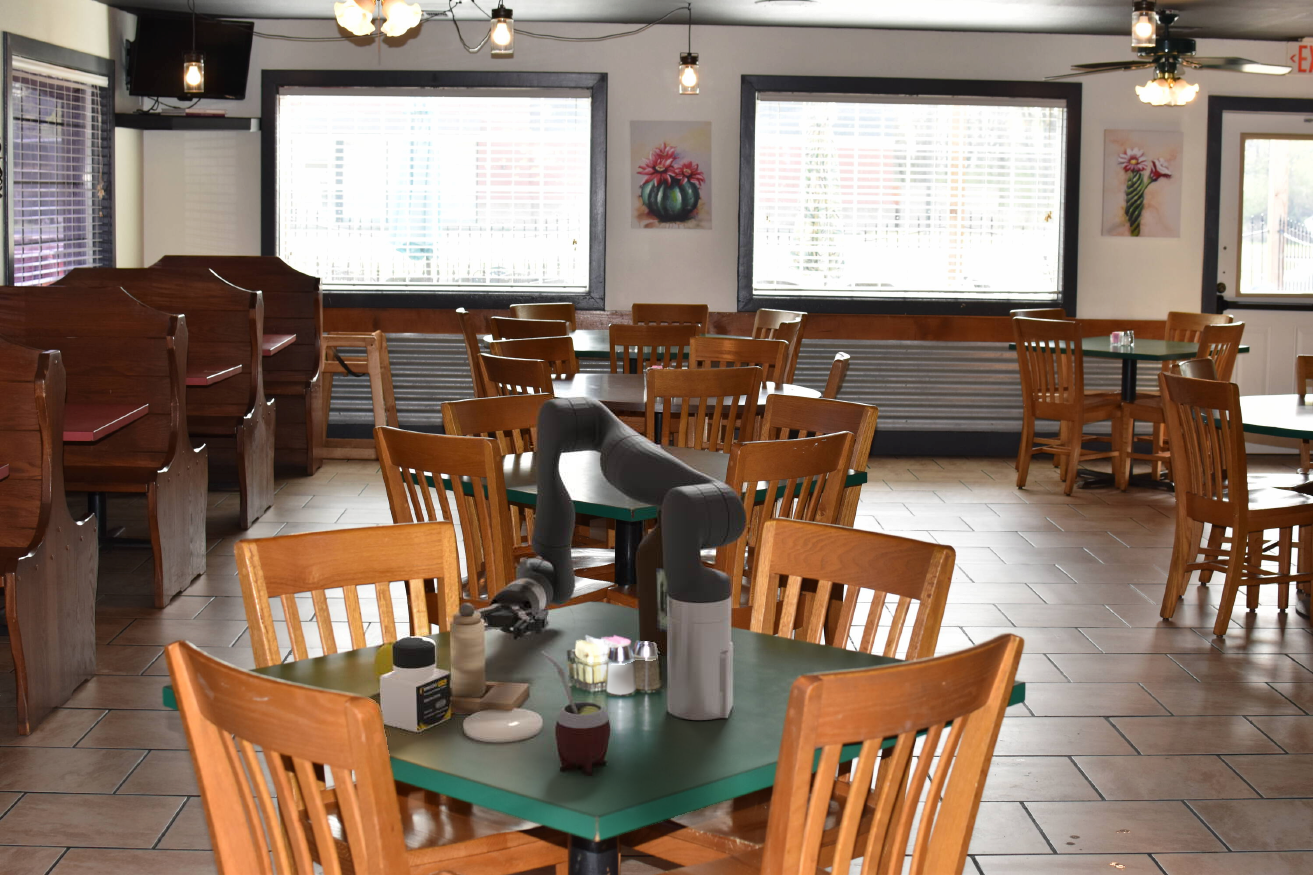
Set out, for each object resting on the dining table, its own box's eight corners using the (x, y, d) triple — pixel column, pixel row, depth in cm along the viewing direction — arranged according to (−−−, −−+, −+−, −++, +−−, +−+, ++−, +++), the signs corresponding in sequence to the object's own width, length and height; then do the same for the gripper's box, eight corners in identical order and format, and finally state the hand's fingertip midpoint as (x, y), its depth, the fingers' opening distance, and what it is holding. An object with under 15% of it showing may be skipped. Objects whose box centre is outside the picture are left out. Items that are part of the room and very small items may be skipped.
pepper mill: (490, 698, 198) (488, 599, 196) (479, 710, 193) (477, 608, 191) (458, 696, 199) (455, 597, 197) (447, 708, 194) (444, 606, 192)
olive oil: (626, 642, 226) (625, 498, 223) (683, 635, 231) (683, 493, 227) (650, 659, 217) (650, 509, 213) (709, 651, 221) (709, 504, 217)
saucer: (551, 716, 190) (551, 710, 190) (530, 744, 179) (529, 737, 179) (477, 712, 192) (477, 705, 192) (452, 739, 181) (452, 732, 181)
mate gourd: (617, 773, 169) (616, 660, 167) (558, 782, 167) (556, 667, 164) (599, 753, 176) (598, 644, 174) (542, 761, 174) (540, 650, 171)
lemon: (403, 699, 198) (402, 647, 197) (368, 696, 199) (367, 645, 198) (417, 687, 203) (416, 636, 202) (383, 685, 204) (381, 634, 203)
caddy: (529, 696, 199) (529, 683, 198) (512, 717, 190) (512, 703, 190) (446, 691, 201) (446, 678, 201) (426, 711, 192) (425, 698, 192)
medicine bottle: (418, 733, 184) (415, 650, 182) (380, 724, 187) (377, 642, 186) (452, 718, 190) (449, 637, 188) (414, 709, 193) (412, 629, 192)
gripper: (477, 581, 221) (444, 606, 205) (559, 584, 219) (532, 610, 203) (478, 624, 222) (445, 653, 206) (560, 628, 220) (533, 657, 204)
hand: (488, 632), depth 205 cm, fingers open, 8 cm apart
